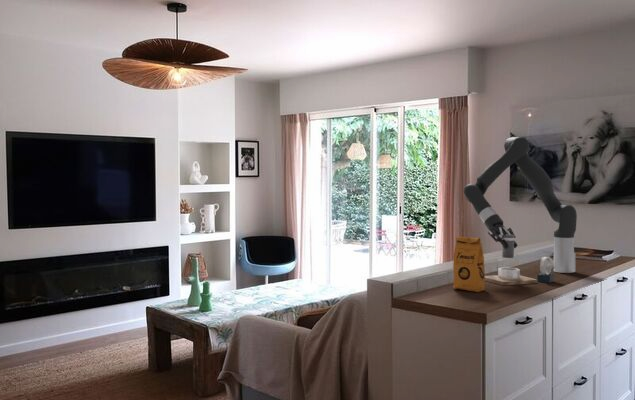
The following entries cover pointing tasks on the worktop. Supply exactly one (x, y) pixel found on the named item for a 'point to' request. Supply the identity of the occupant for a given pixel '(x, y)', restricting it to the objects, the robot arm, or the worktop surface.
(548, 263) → the watch
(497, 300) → the worktop surface
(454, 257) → the coffee package
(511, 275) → the notched white ring
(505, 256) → the grey cylinder
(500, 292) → the worktop surface
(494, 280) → the mount board
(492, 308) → the worktop surface
